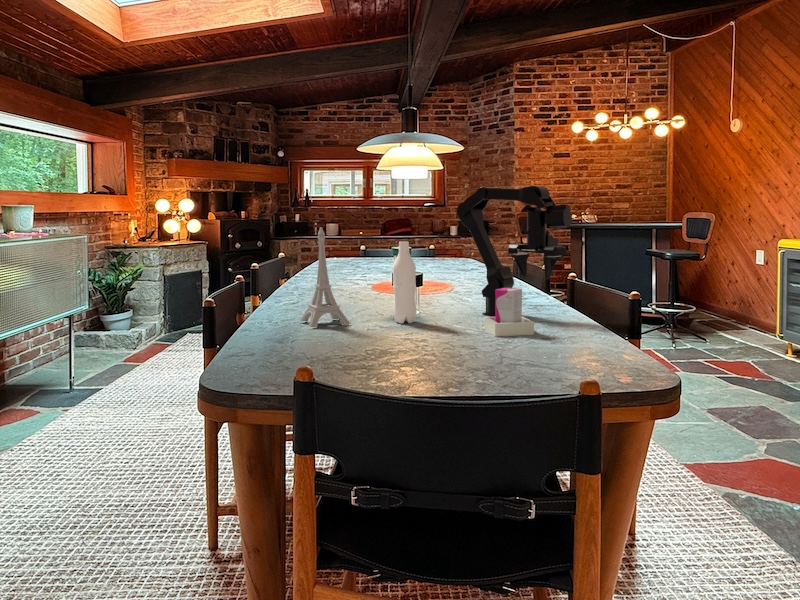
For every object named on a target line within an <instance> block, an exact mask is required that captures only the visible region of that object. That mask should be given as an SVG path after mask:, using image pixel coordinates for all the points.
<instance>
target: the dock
mask: <svg viewBox="0 0 800 600" xmlns="http://www.w3.org/2000/svg"><path fill="white" fill-rule="evenodd" d="M483 319H484V323H483V324H484V326H483V327H484V330H485V331H487V332H488V333H489V334H491V335H492V336H494V337H509V336H510V337H512V336H514V337H515V336H531V335H532V336H535V322H534V321H532V320H531V319H528V318H526V317H525V316H523V315H522V322H511V323H497V322H495V316H484V318H483Z"/></svg>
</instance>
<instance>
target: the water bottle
mask: <svg viewBox="0 0 800 600" xmlns="http://www.w3.org/2000/svg"><path fill="white" fill-rule="evenodd" d="M409 245H410V243H409V241H406V240H405V241H404V240H403V241H398V253H397V255H396V258H395V260H394V263H393V265H392V283H393V285H392V288H393V289H392V290H393V293H394V304H393V310H392V311H393V312H392V313H393V318H394V321H395V322H396V323H399V324H404V323H405V322H407V324H412V323H414V321H415V320H416V317H417V306H416V300H415V299H416V297H415V296H416V288H417V285H416V283H417V280H416V278H417V275H416V270H417V267H416V264H415V262H414V259H413V258H412V255H411V254H410V250H411V249H410V246H409Z"/></svg>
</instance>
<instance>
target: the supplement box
mask: <svg viewBox="0 0 800 600" xmlns="http://www.w3.org/2000/svg"><path fill="white" fill-rule="evenodd" d="M495 295H496V300H495V316H494V317H495V322H497V323H511V322H522V316H523V314H522V313H523V288H519V287H518V288H516V287H512V288H501V289H496V291H495Z"/></svg>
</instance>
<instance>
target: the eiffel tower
mask: <svg viewBox="0 0 800 600" xmlns="http://www.w3.org/2000/svg"><path fill="white" fill-rule="evenodd" d="M316 239H318V265H317V267H318V268H317V279H316V284H315V285H314V286H315V290H314V294H313V296H312V299H311V302H310V303H308V304H307V306H308V307H307V309H306V310H305V311H304V312H303V315H302V316H301V317H300V318H299V320H300V321H308V326H309V327H318V323H319V320H320V319H321V317H323V316H324V315H326V314H329V315H330V319H331V318H332V319H340V320H339V321H340V325H341V324H343V325H349V324H351V322H350V321H349V320H348V318H347V317H346V315H345V314H344V312H343V311H342V310H341V309H340V307H341V305H340V304H338V303H337V302H336V299H335V297H334V295H333V292H332V289H331V288H332V284H330V279H329V274H328V267H327V266H328V265H327V260H326V259H327V257H326V250H325V249H326V248H325V239H326V233H325V232H324V229H323V226H320V227H319V230H318V233H317V237H316ZM323 296H324V297H323ZM323 298H324V300H325V302H323ZM309 320H310V321H309Z"/></svg>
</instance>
